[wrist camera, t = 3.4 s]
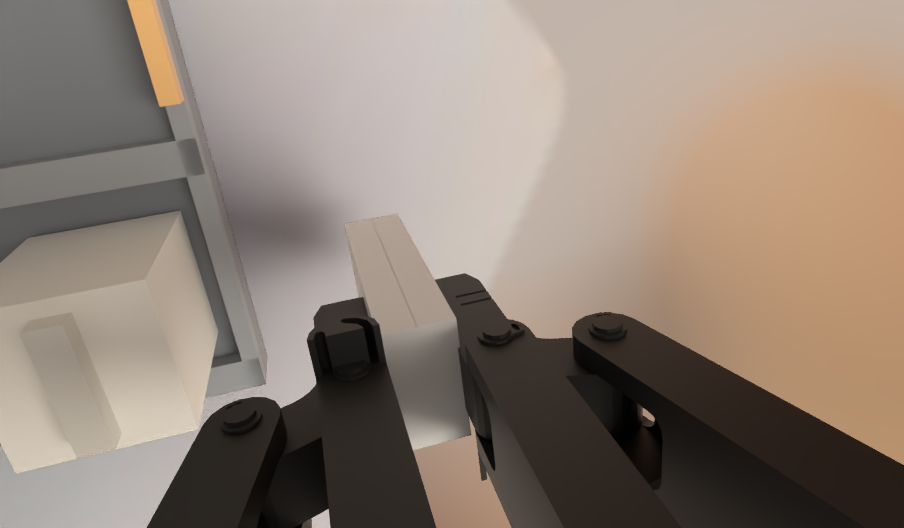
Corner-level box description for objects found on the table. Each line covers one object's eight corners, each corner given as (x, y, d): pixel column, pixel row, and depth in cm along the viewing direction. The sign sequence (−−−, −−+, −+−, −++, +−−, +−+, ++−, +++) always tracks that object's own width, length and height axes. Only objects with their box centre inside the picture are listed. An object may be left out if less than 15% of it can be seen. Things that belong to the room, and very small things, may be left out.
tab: (80, 361, 18) (5, 492, 13) (28, 238, 17) (-80, 334, 12) (218, 331, 19) (195, 445, 14) (180, 210, 18) (139, 290, 13)
